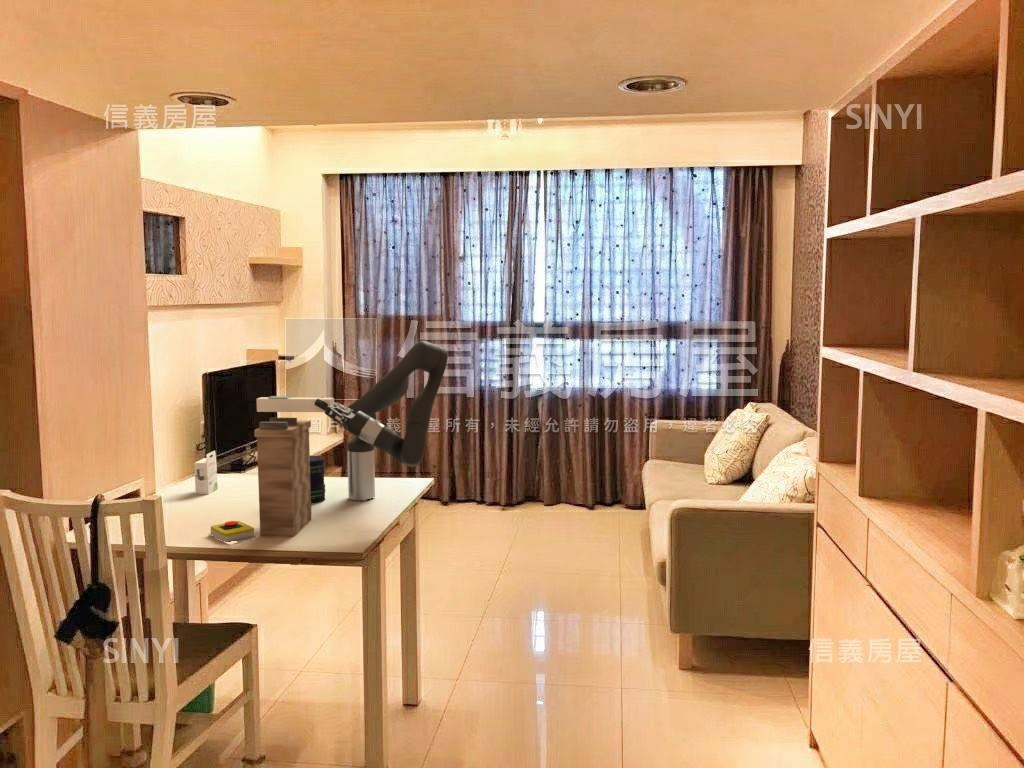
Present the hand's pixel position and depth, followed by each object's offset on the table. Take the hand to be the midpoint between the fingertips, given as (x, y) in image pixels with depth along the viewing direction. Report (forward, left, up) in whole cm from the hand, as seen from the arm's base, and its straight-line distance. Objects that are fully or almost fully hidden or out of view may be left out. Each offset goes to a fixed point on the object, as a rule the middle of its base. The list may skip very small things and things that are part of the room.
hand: (318, 400), depth 244 cm
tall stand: (+6, -9, -39) cm, 40 cm away
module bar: (0, -7, -3) cm, 8 cm away
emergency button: (+15, -22, -40) cm, 48 cm away
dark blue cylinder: (-28, -12, -39) cm, 50 cm away
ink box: (-39, -54, -39) cm, 77 cm away
